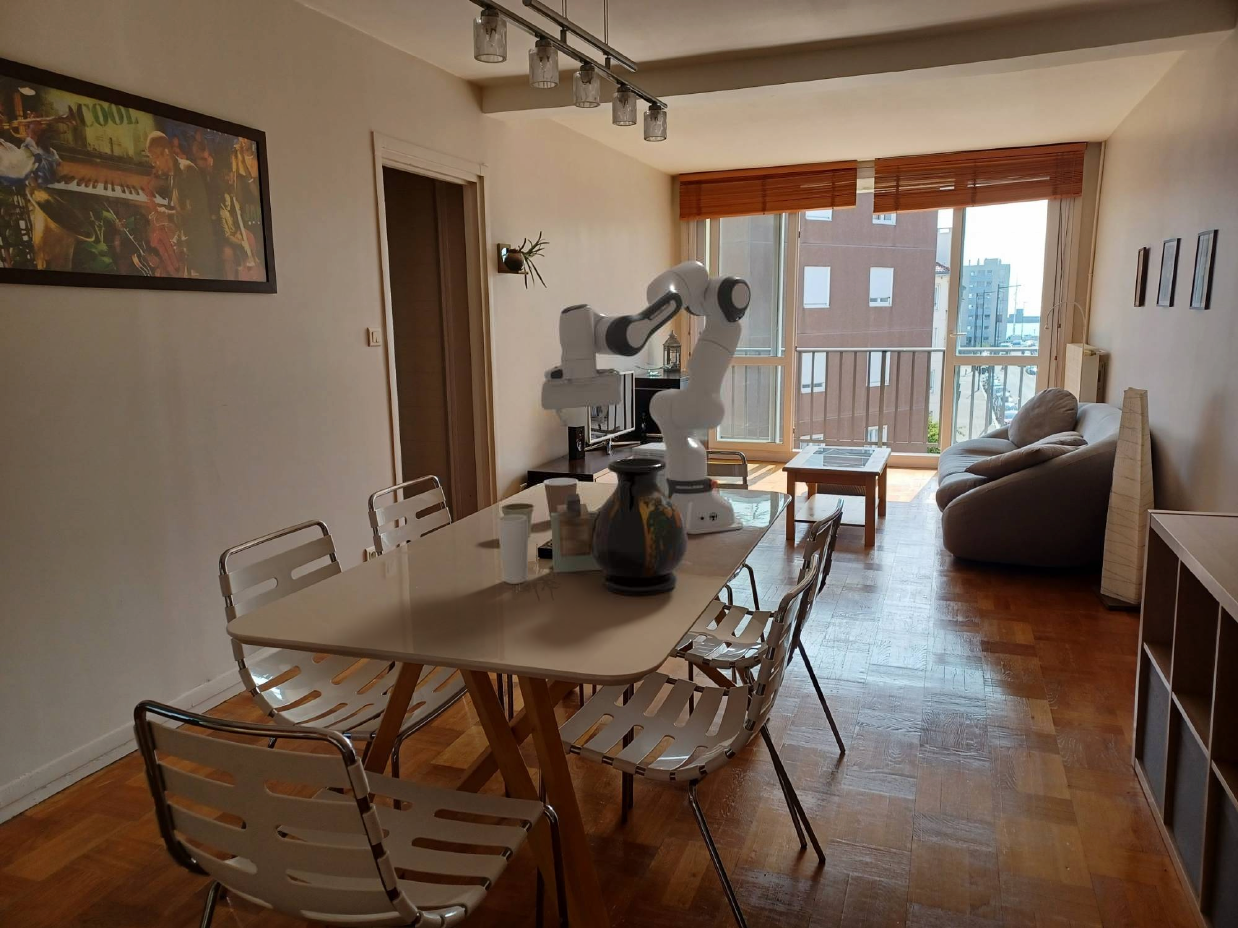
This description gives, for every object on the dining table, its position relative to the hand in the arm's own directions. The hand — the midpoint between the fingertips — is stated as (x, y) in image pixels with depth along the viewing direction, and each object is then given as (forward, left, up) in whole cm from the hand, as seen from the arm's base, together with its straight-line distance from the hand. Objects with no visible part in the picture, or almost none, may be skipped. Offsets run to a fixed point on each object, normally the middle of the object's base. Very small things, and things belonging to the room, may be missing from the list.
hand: (582, 424), depth 217 cm
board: (+2, +16, -33) cm, 36 cm away
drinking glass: (+19, +24, -33) cm, 45 cm away
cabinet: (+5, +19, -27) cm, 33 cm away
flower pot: (+18, -18, -33) cm, 42 cm away
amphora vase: (-9, +33, -33) cm, 48 cm away
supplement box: (-29, -60, -33) cm, 75 cm away
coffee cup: (+5, -35, -33) cm, 48 cm away
